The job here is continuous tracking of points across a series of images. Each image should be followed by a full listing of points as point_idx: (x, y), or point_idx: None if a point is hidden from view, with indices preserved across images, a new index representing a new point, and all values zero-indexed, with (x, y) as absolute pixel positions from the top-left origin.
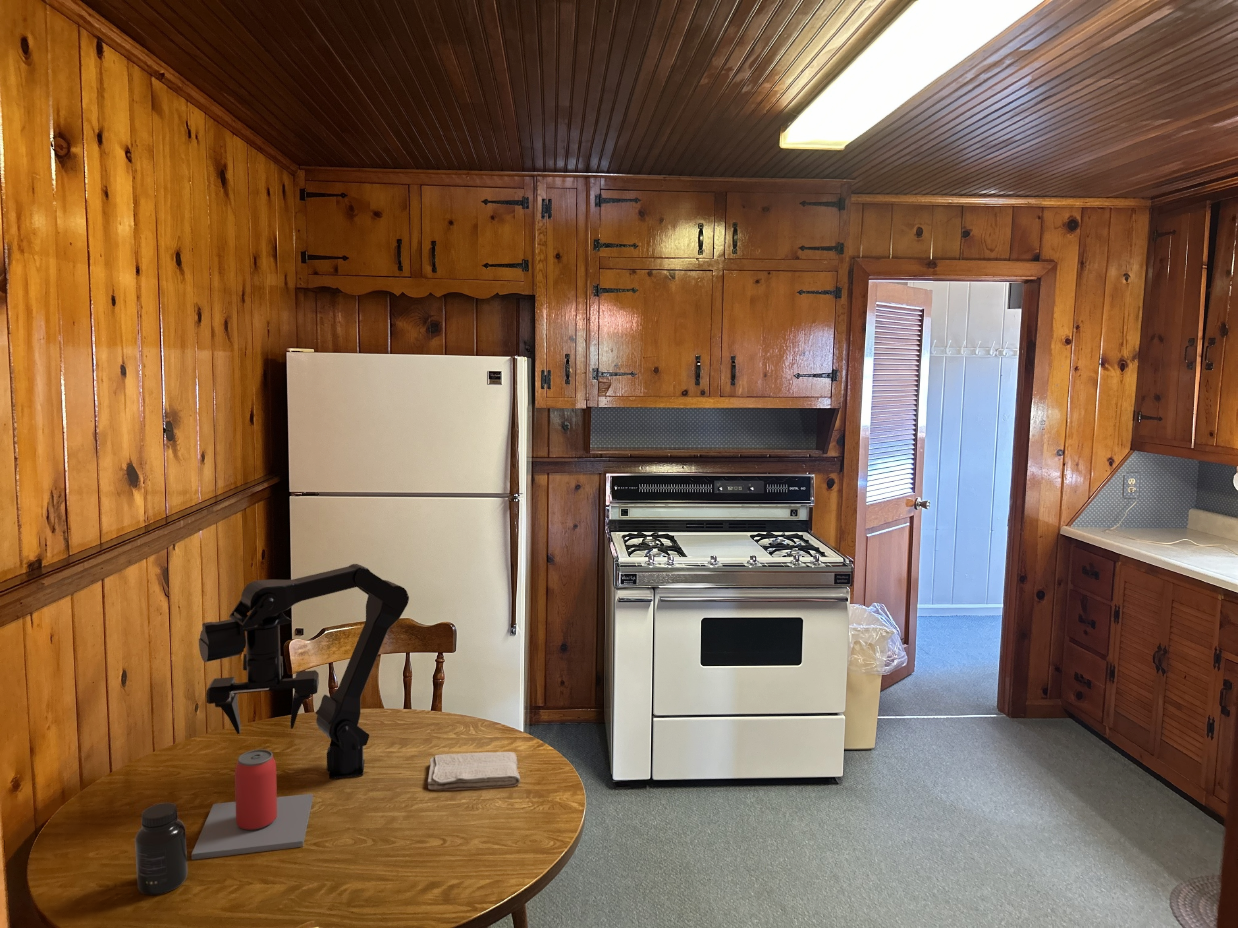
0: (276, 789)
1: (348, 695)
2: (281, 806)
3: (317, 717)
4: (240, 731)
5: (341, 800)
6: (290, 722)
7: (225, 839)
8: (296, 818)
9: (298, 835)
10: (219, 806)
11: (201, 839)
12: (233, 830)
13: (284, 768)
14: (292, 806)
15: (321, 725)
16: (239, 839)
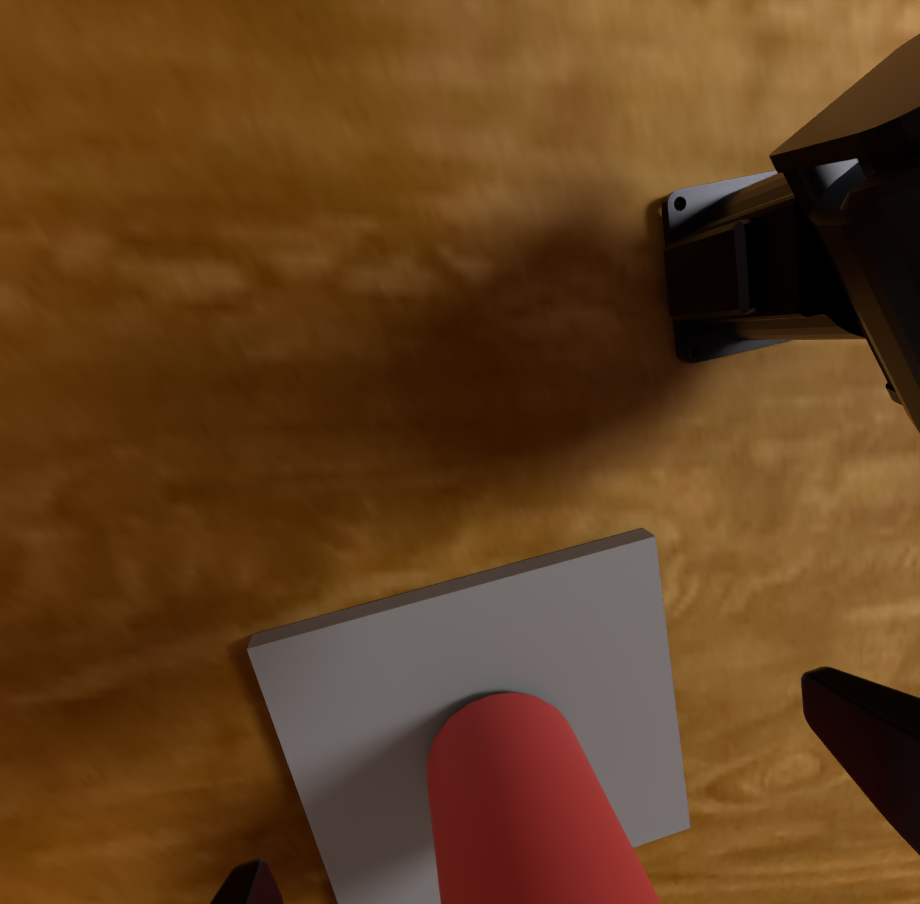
0: (619, 822)
1: None
2: (556, 642)
3: (917, 201)
4: (264, 862)
5: (751, 534)
6: (886, 819)
7: (430, 859)
8: (637, 713)
9: (669, 803)
10: (287, 665)
11: (341, 873)
12: None
13: (426, 231)
14: (600, 638)
15: (912, 319)
16: None
